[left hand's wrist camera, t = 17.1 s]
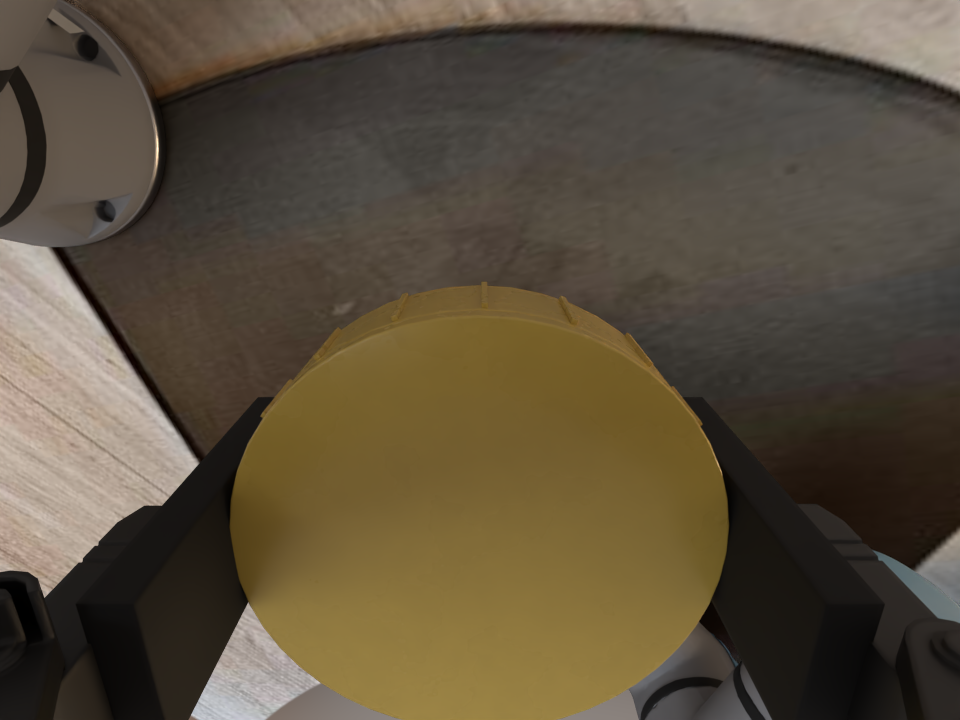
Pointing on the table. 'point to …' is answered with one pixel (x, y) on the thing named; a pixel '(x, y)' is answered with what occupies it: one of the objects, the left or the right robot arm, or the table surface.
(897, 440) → the table surface
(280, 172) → the table surface
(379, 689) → the lid
